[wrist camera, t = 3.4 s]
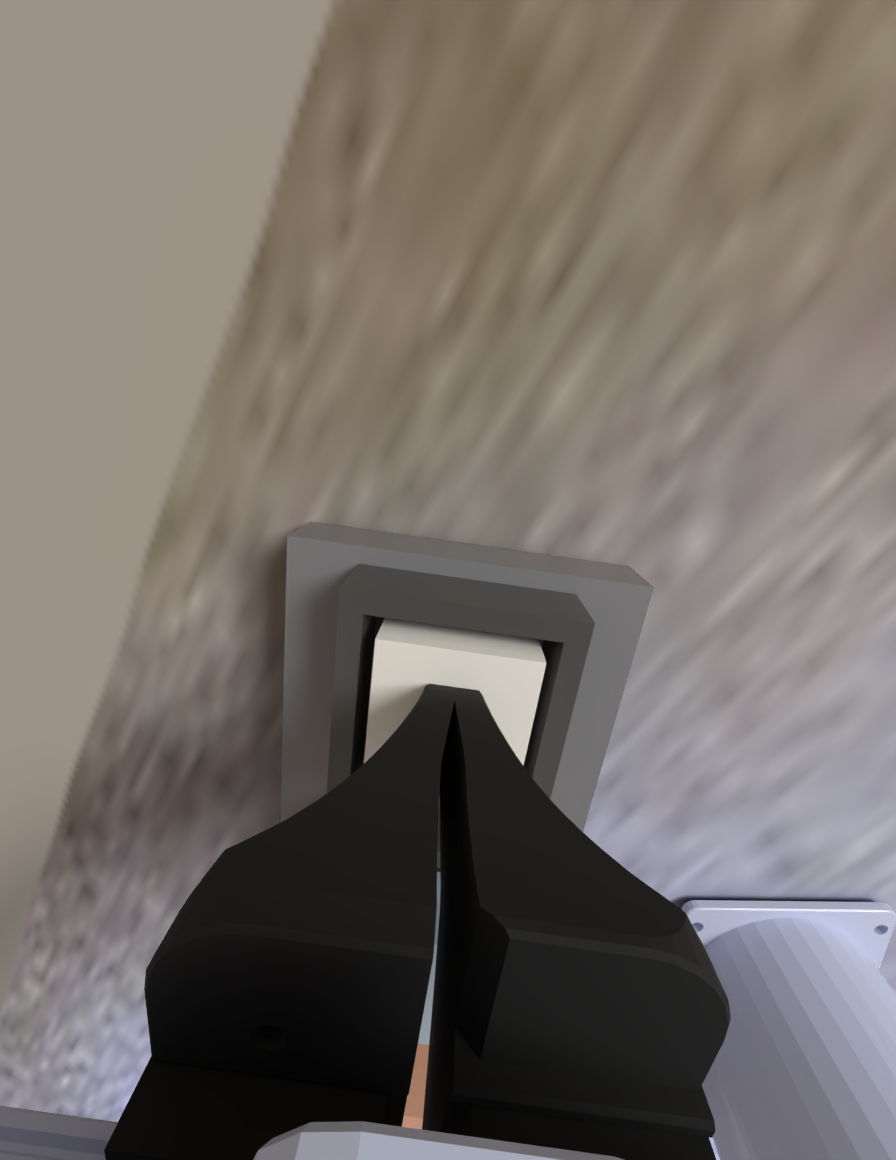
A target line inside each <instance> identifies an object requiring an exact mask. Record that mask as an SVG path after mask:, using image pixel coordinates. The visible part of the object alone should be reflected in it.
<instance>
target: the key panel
mask: <svg viewBox="0 0 896 1160" xmlns="http://www.w3.org/2000/svg"><path fill="white" fill-rule="evenodd" d="M653 588H654V587H653V586H652V585H650V584H649V583H648V582H647V581H646V580H645V579H643V578H642V577H641V576H640V575H639V574H637V573H636V572H635V571H634V570H633V569H632V568H630V567H629V566H622V565H615V564H608V563H601V562H594V561H587V560H580V559H573V558H566V557H559V556H551V555H544V554H537V553H530V552H523V551H516V550H509V549H502V548H495V547H488V546H481V545H473V544H466V543H459V542H452V541H445V540H438V539H431V538H424V537H417V536H410V535H402V534H395V533H388V532H381V531H374V530H367V529H360V528H353V527H346V526H339V525H332V524H324V523H317V522H310V523H308V524H306V525H305V526H303V527H301V528H299V529H298V530H296V531H294V532H292V533H291V534H289V535H287V562H286V602H285V643H284V683H283V724H282V765H281V805H280V823H281V822H283V821H285V820H286V819H288V818H290V817H291V816H293V815H294V814H296V813H298V812H299V811H301V810H302V809H304V808H305V807H307V806H309V805H310V804H312V803H313V802H315V801H317V800H318V799H320V798H321V797H323V796H324V795H325V794H327V793H328V792H329V791H331V790H332V789H334V788H335V787H336V786H337V785H339V784H340V783H341V782H342V781H344V780H345V779H346V778H348V777H349V776H350V775H351V774H353V773H354V772H355V771H356V770H357V769H358V768H359V767H361V766H362V765H363V764H364V755H365V744H366V734H367V723H368V712H369V701H370V690H371V680H372V669H373V658H374V647H375V638H376V636H377V634H378V632H379V629H380V627H381V625H382V623H383V621H384V618H392V619H399V620H406V621H413V622H420V623H427V624H434V625H442V626H449V627H456V628H463V629H470V630H477V631H484V632H491V633H498V634H505V635H512V636H520V637H527V638H534V639H539V642H540V645H541V648H542V651H543V654H544V657H545V660H546V668H545V672H544V677H543V681H542V686H541V690H540V694H539V699H538V703H537V708H536V712H535V717H534V721H533V726H532V730H531V734H530V739H529V743H528V748H527V752H526V757H525V761H524V765H523V766H524V767H525V769H526V770H527V772H528V773H529V774H530V776H531V777H532V778H533V780H534V781H535V782H536V783H537V785H538V786H539V787H540V788H541V789H542V790H543V792H544V793H545V794H546V795H547V796H548V797H549V799H550V800H551V801H552V802H553V803H554V804H555V805H556V806H557V807H558V808H559V809H560V810H561V811H562V812H563V814H565V815H566V816H567V817H568V818H569V819H570V820H571V821H572V822H573V823H574V824H575V825H576V826H577V827H578V828H579V829H580V830H581V831H582V832H583V829H584V825H585V822H586V819H587V815H588V812H589V808H590V805H591V801H592V798H593V794H594V791H595V788H596V784H597V781H598V777H599V774H600V770H601V767H602V763H603V760H604V757H605V753H606V750H607V746H608V743H609V739H610V736H611V732H612V729H613V725H614V722H615V719H616V715H617V712H618V708H619V705H620V701H621V698H622V694H623V691H624V688H625V684H626V681H627V677H628V674H629V670H630V667H631V663H632V660H633V657H634V653H635V650H636V646H637V643H638V639H639V636H640V632H641V629H642V625H643V622H644V619H645V615H646V612H647V608H648V605H649V601H650V598H651V594H652V591H653ZM437 872H440V795H439V813H438V842H437Z"/></svg>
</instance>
